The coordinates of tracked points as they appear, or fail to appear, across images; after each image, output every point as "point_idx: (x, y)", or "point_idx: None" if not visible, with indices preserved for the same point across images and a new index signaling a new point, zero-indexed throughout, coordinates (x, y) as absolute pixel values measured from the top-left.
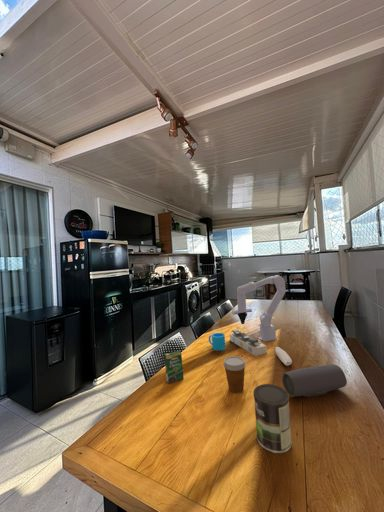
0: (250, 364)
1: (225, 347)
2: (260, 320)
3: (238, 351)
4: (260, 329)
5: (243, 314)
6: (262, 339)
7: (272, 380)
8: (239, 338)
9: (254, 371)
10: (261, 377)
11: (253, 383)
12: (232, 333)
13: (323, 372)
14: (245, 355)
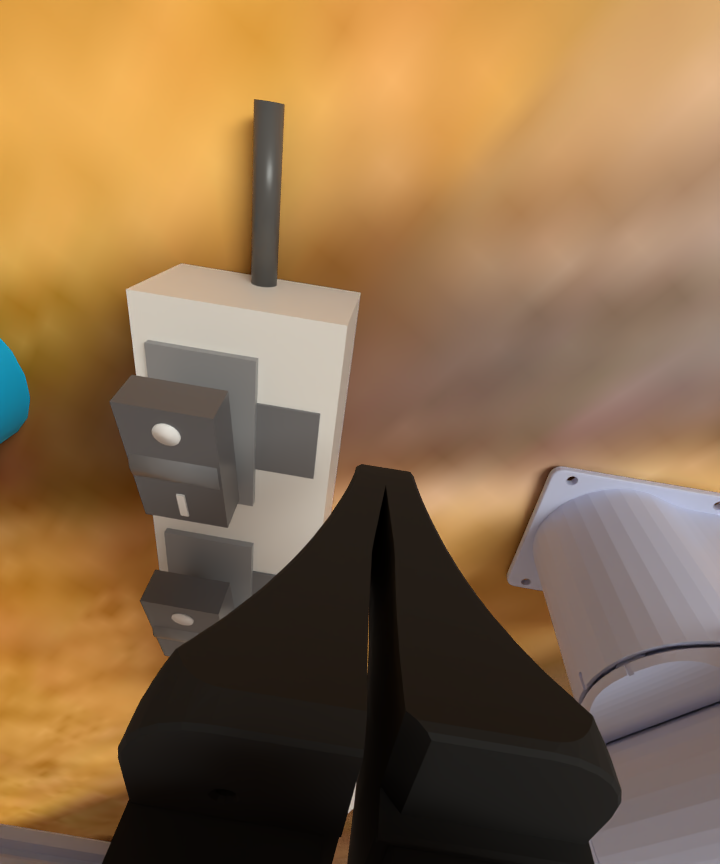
0: (107, 694)
1: (23, 420)
2: (682, 794)
3: (122, 549)
4: (585, 621)
5: (355, 852)
6: (532, 540)
7: (127, 792)
8: (165, 538)
9: (89, 733)
10: (94, 765)
11: (35, 766)
12: (186, 302)
13: None
14: (141, 620)
